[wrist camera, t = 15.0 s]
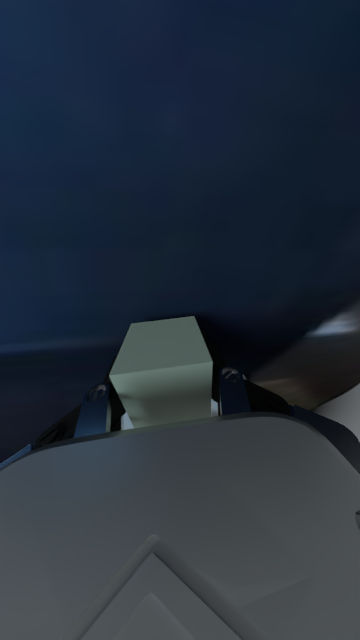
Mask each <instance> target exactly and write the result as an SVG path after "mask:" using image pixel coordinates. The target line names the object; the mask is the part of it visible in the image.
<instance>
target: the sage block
mask: <svg viewBox="0 0 360 640" xmlns="http://www.w3.org/2000/svg"><path fill="white" fill-rule="evenodd" d="M212 367H213V361H212V359H211V356H210V354H209V351H208V349H207V346H206V344H205V342H204V339H203V337H202V334H201V332H200V329H199V327H198V324H197V322H196V319H195V317H194V316H191V317H182V318H174V319H166V320H158V321H149V322H141V323H133V324H131V326H130V328H129V331H128V333H127V335H126V337H125V340H124V342H123V344H122V347H121V349H120V351H119V354H118V356H117V358H116V360H115V363H114V365H113V367H112V370H111V372H110V374H109V377H110V379H111V381H112V383H113V385H114V387H115V389H116V391H117V394H118V396H119V398H120V400H121V402H122V404H123V406H124V408H125V410H126V412H127V414H128V416H129V418H130V420H131V422H132V425H133V427H134V428H139V427H146V426H153V425H159V424H166V423H173V422H180V421H186V420H193V419H200V418H207V417H211V399H212Z"/></svg>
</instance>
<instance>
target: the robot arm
mask: <svg viewBox="0 0 360 640" xmlns="http://www.w3.org/2000/svg"><path fill="white" fill-rule="evenodd" d="M200 332H201V334H202V337H203V339H204V342H205V344H206V346H207V349H208V351H209V354H210V356H211V359H212V361H213V367H212V399H213V401H215V402H216V403H217V412H218V416H214V417H207V418H200V419H193V420H186V421H180V422H173V423H166V424H159V425H153V426H146V427H139V428H133V429H126V430H124V420H123V415H124V414H125V413H126V410H125V408H124V406H123V404H122V402H121V400H120V398H119V396H118V394H117V391H116V389H115V387H114V385H113V383H112V381H111V379H110V377H109V374H110V372H111V370H112V367H113V365H114V363H115V360H116V358H117V356H118V355H116V356H115V357H114V359H113V361H112V363H111V365H110V368H109V370H108V372H107V374H106V376H105V379H104V381H103V383H99V384H96V385H94V386H93V387H91V388H90V389H89V390H88V391H87V392H86V393H85V395H84V397H83V401H82V404H80V405H79V406H78V407H76V408H75V409H74V410H72V411H71V412H70V413H68V414H67V415H65V416H64V417H63V418H61V419H60V420H59V421H57V422H56V423H55V424H53V425H52V426H51V427H49V428H48V429H47V430H46V431H44V432H43V433H42V434H41V435H40V437H39V438H38V439H37V441H36V442H35V444H34V445H32V444H30V445H28V446H27V447H25V448H24V449H22V450H21V451H19V452H18V453H16V454H15V455H13V456H12V457H10V458H9V459H7V460H6V461H4V462H3V463H2V464H0V640H360V442H359V441H358V439H357V437H356V436H355V435H354V434H353V433H352V432H351V431H350V430H349V429H348V428H346V427H345V426H344V425H342V424H340V423H338V422H335V421H333V420H331V419H328V418H326V417H323V416H321V415H318V414H316V413H313V412H311V411H309V410H306V409H304V408H301V407H299V406H296V405H293V406H291V405H289V404H288V403H287V402H286V401H285V400H284V399H283V398H282V397H280V396H279V395H277V394H275V393H273V392H271V391H268V390H266V389H264V388H262V387H260V386H258V385H256V384H254V383H252V382H250V381H248V380H246V379H244V378H243V375H242V373H241V371H240V370H239V369H237V368H235V367H233V366H228V365H227V363H226V362H225V360H224V358H223V356H222V354H221V352H220V350H219V348H218V346H217V344H216V343H210V341H209V339H208V337H207V334H206V332H205V330H204V329H200ZM124 340H125V339H124ZM123 342H124V341H123ZM122 344H123V343H122ZM121 347H122V346H121ZM120 349H121V348H120ZM119 351H120V350H119ZM118 354H119V353H118Z"/></svg>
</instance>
